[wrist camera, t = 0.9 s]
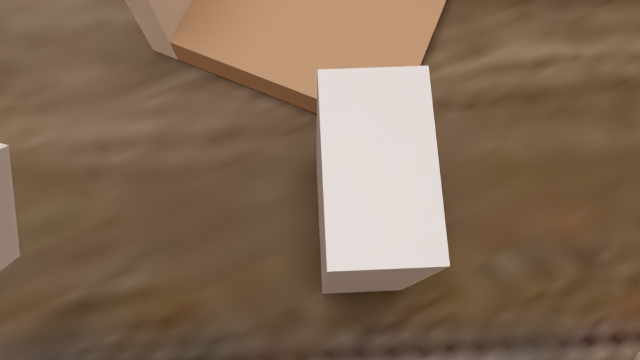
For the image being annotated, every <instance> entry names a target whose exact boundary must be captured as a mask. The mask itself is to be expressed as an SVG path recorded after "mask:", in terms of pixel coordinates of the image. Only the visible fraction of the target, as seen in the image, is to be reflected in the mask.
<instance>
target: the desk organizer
mask: <svg viewBox="0 0 640 360" xmlns="http://www.w3.org/2000/svg"><path fill="white" fill-rule="evenodd" d="M125 2H126V3H127V5H128V7H129V9H130V11H131V12H132V14H133V16H134V18H135V19H136V21H137V23H138V25H139V26H140V28H141V30H142V32H143V33H144V35H145V37H146V39H147V40H148V42H149V44H150V46H151V47H152V49H153V50H154V51H157V52H159V53H162V54H164V55H167V56H169V57H172V58H175V59H177V60H180V61H182V62H185V63H187V64H190V65H193V66H195V67H198V68H200V69H203V70H205V71H208V72H211V73H213V74H216V75H218V76H221V77H223V78H226V79H229V80H231V81H234V82H236V83H239V84H241V85H244V86H247V87H249V88H252V89H254V90H257V91H259V92H262V93H264V94H267V95H270V96H272V97H275V98H277V99H280V100H282V101H285V102H288V103H290V104H293V105H295V106H298V107H300V108H303V109H306V110H308V111H311V112H313V113H316V114H317V70H318V69H347V68H375V67H403V66H420V65H421V62H422V60H423V57H424V55H425V52H426V50H427V47H428V45H429V42H430V40H431V37H432V35H433V32H434V30H435V27H436V25H437V22H438V20H439V17H440V15H441V12H442V10H443V7H444V5H445V2H446V0H125Z"/></svg>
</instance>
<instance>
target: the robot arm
mask: <svg viewBox="0 0 640 360" xmlns="http://www.w3.org/2000/svg"><path fill="white" fill-rule="evenodd" d="M19 256H20V252H19V242H18V232H17V223H16V213H15V203H14V194H13V184H12V174H11V165H10V155H9V145H5V144H1V143H0V271H1V270H2V269H3V268H5V267H6V266H7V265H9V264H10V263H11V262H12V261H14V260H15V259H16V258H17V257H19ZM635 360H640V351H639V353H638V354H637V356H636V358H635Z"/></svg>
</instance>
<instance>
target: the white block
mask: <svg viewBox="0 0 640 360" xmlns="http://www.w3.org/2000/svg"><path fill="white" fill-rule="evenodd" d="M316 165H317V188H318V210H319V233H320V255H321V277H322V294H327V293H349V292H372V291H394V290H402V289H404V288H406V287H409V286H411V285H413V284H415V283H417V282H419V281H421V280H423V279H425V278H427V277H429V276H431V275H433V274H435V273H437V272H439V271H441V270H443V269H445V268H448V267H450V263H449V254H448V244H447V235H446V226H445V216H444V207H443V197H442V188H441V179H440V169H439V160H438V151H437V141H436V132H435V123H434V113H433V104H432V95H431V85H430V76H429V67H428V66H403V67H375V68H347V69H318V70H317V137H316Z"/></svg>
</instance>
